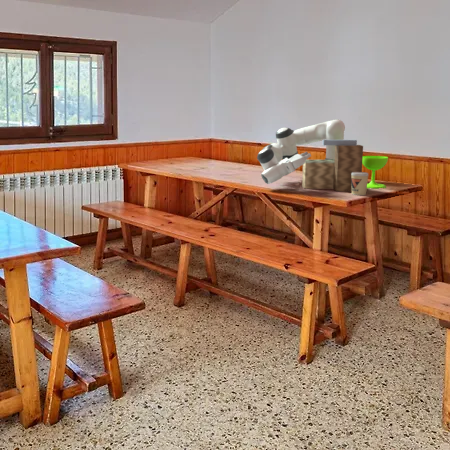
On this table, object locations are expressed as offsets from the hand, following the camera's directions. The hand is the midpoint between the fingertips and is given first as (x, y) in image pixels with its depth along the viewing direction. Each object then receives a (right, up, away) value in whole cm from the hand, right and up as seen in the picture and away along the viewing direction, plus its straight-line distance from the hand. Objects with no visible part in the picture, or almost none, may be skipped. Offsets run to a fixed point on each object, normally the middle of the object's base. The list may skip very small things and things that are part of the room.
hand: (309, 153), depth 345 cm
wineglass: (+41, -18, +20) cm, 49 cm away
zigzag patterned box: (+11, -18, +16) cm, 26 cm away
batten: (+17, +5, 0) cm, 18 cm away
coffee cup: (+26, -24, -9) cm, 37 cm away
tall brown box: (+23, -21, +5) cm, 31 cm away
